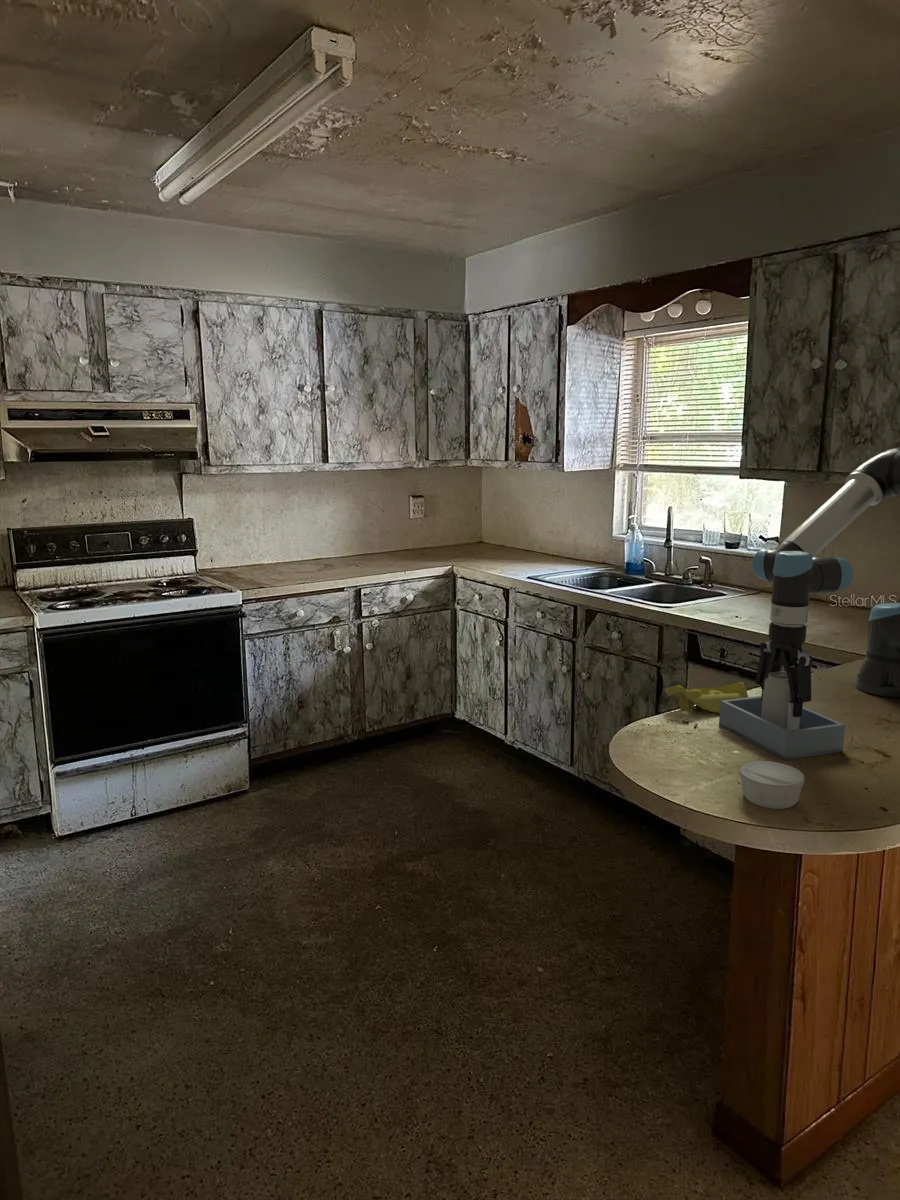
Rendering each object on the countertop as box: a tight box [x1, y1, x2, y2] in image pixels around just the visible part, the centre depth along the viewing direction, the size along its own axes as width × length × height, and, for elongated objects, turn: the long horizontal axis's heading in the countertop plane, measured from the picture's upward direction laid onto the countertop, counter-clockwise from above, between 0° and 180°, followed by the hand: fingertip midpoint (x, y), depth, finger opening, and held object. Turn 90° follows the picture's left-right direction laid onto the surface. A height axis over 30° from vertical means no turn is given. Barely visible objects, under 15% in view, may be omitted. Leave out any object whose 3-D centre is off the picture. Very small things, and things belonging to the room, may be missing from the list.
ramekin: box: [739, 760, 805, 810], centre depth 155 cm, size 11×11×5 cm
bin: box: [718, 695, 846, 761], centre depth 186 cm, size 15×22×6 cm
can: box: [762, 670, 798, 729], centre depth 185 cm, size 8×8×12 cm
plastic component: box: [664, 681, 749, 714], centre depth 206 cm, size 20×7×10 cm
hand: (779, 723), depth 186 cm, fingers closed on can, 7 cm apart
